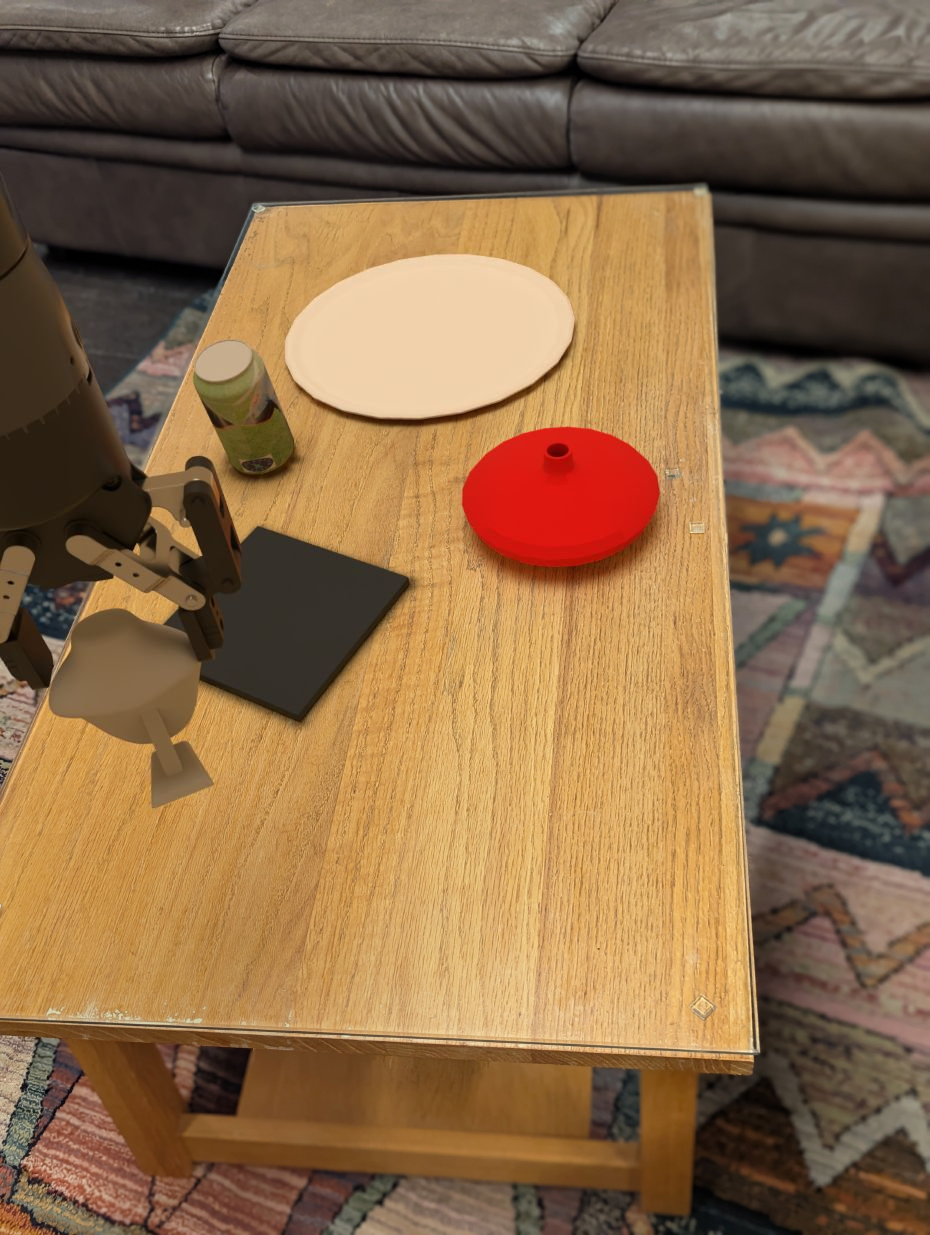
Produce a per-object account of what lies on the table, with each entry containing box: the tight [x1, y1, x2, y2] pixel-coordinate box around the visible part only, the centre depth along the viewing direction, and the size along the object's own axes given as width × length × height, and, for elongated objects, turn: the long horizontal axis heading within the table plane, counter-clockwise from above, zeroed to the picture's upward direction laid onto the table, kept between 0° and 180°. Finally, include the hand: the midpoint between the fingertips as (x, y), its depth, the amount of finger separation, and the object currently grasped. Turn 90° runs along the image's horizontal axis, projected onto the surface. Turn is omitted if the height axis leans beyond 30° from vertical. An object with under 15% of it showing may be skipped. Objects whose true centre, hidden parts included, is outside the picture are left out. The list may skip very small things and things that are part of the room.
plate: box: [284, 253, 576, 420], centre depth 108 cm, size 29×29×1 cm
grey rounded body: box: [48, 607, 214, 809], centre depth 54 cm, size 8×5×12 cm
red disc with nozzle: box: [461, 426, 661, 568], centre depth 85 cm, size 16×16×7 cm
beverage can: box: [192, 338, 295, 475], centre depth 93 cm, size 6×7×12 cm
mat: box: [162, 525, 411, 722], centre depth 83 cm, size 15×15×1 cm
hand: (127, 661), depth 52 cm, fingers closed on grey rounded body, 7 cm apart
